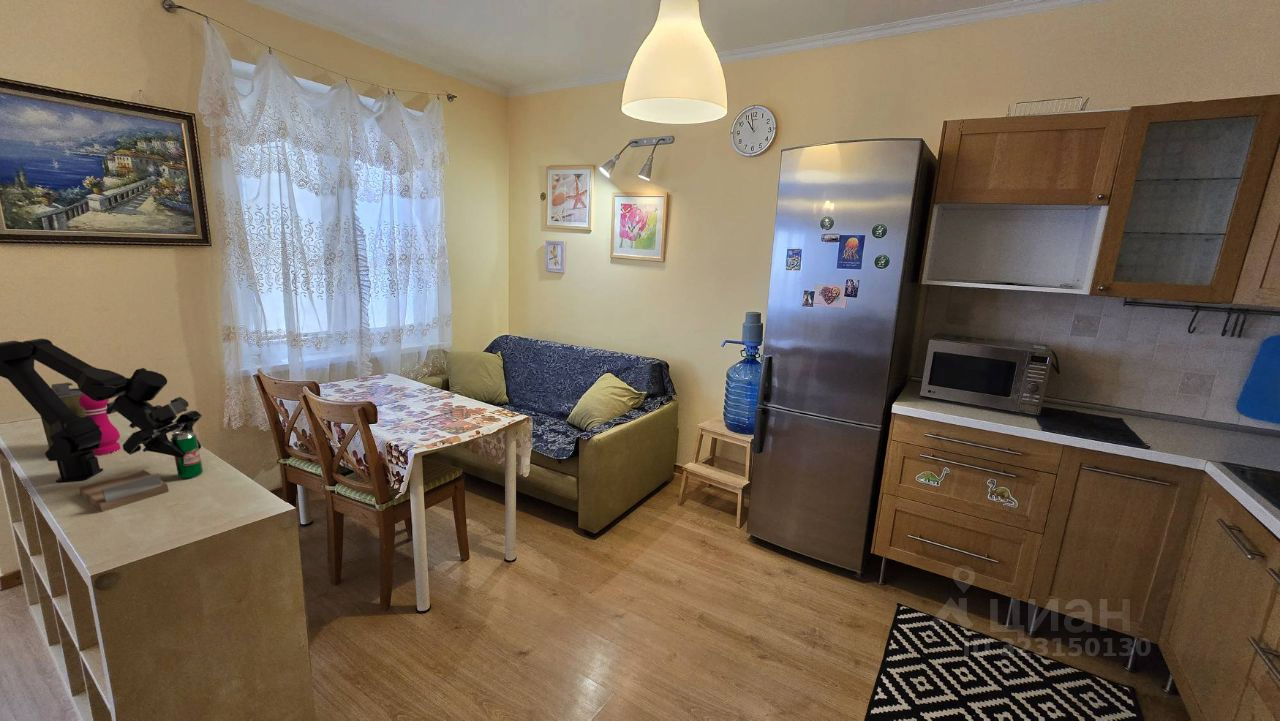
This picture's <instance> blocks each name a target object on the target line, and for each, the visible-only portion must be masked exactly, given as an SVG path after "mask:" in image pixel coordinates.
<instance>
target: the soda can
mask: <svg viewBox="0 0 1280 721" xmlns="http://www.w3.org/2000/svg"><path fill="white" fill-rule="evenodd" d="M197 439H198V436H197V434H196V433H195V432H194V430H193V431H192V430H186V431H180V432H176V433H172V434H171V438H170V441H171V442H172V443H173V444H174V445H175V446H177V447H178V448H179V449H180V450H181V451H182V452H183V453H184V454H185V456H184V457H182V458H180V457H176V456H173V457H174V462H175V468H176V471H177V472H176V473H177V477H178V478H180V479H183V480H186V479H188V478H189V479H193V478H196V477H199V476H200V475H202V474H203V472H204V470H203V469H204V468H203V463H202V458H201V453H200V449H199V447H198V442H197ZM198 475H199V476H198ZM195 476H196V477H195ZM192 477H193V478H192Z"/></svg>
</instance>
